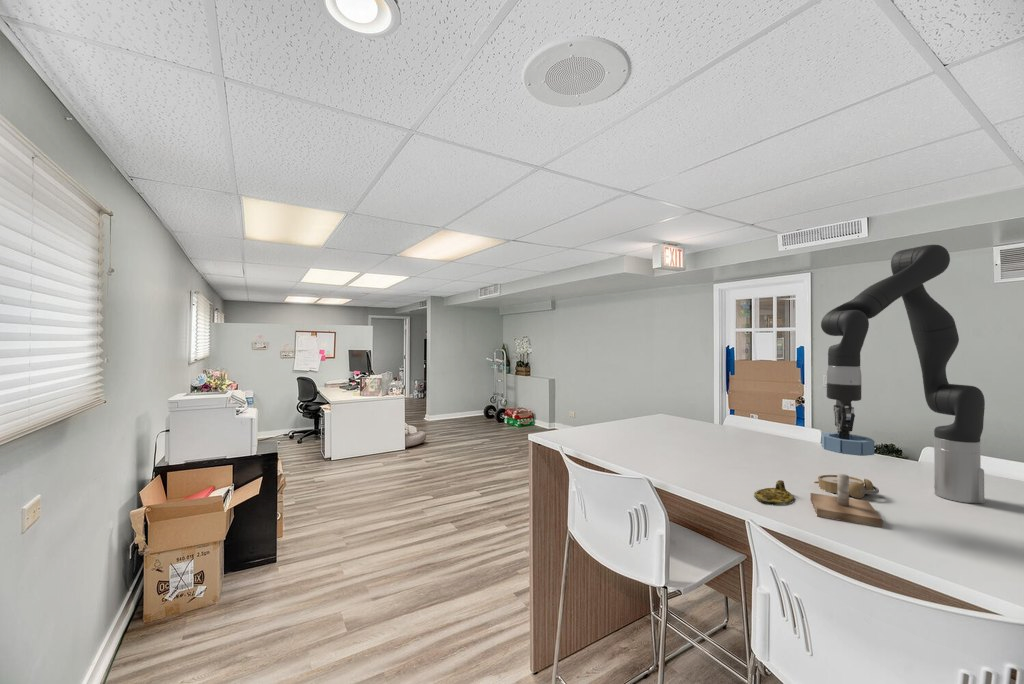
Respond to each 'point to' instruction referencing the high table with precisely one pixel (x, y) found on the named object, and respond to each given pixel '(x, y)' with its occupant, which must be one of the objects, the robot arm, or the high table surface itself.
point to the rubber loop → (848, 444)
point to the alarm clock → (855, 485)
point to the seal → (774, 495)
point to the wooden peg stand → (845, 506)
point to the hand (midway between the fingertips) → (843, 444)
